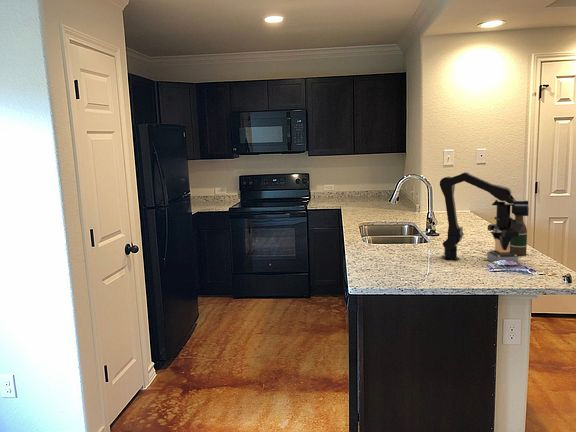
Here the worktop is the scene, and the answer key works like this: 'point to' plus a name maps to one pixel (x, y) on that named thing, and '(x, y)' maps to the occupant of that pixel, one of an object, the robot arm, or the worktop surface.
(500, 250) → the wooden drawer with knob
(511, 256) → the drawer cabinet
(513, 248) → the beer bottle
